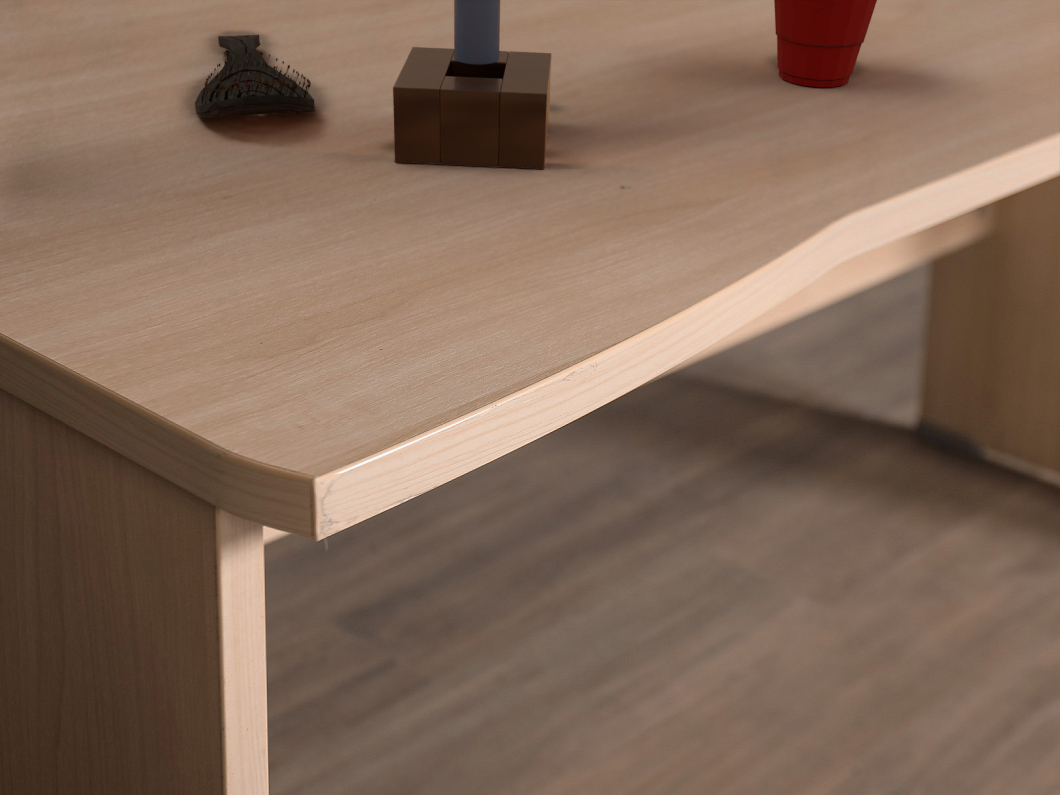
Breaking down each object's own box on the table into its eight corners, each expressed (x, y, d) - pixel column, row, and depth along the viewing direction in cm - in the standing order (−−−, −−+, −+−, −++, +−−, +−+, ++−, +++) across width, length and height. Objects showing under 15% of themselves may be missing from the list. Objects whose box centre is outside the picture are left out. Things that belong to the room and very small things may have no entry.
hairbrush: (284, 9, 103) (321, 79, 82) (287, 54, 105) (325, 133, 84) (182, 13, 101) (193, 85, 80) (187, 58, 103) (200, 141, 82)
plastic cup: (722, 63, 104) (739, -88, 98) (835, 56, 107) (858, -90, 101) (784, 101, 95) (806, -62, 89) (905, 93, 98) (935, -66, 92)
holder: (394, 162, 80) (392, 87, 78) (413, 116, 89) (412, 46, 86) (544, 169, 80) (547, 94, 78) (548, 122, 89) (551, 52, 86)
